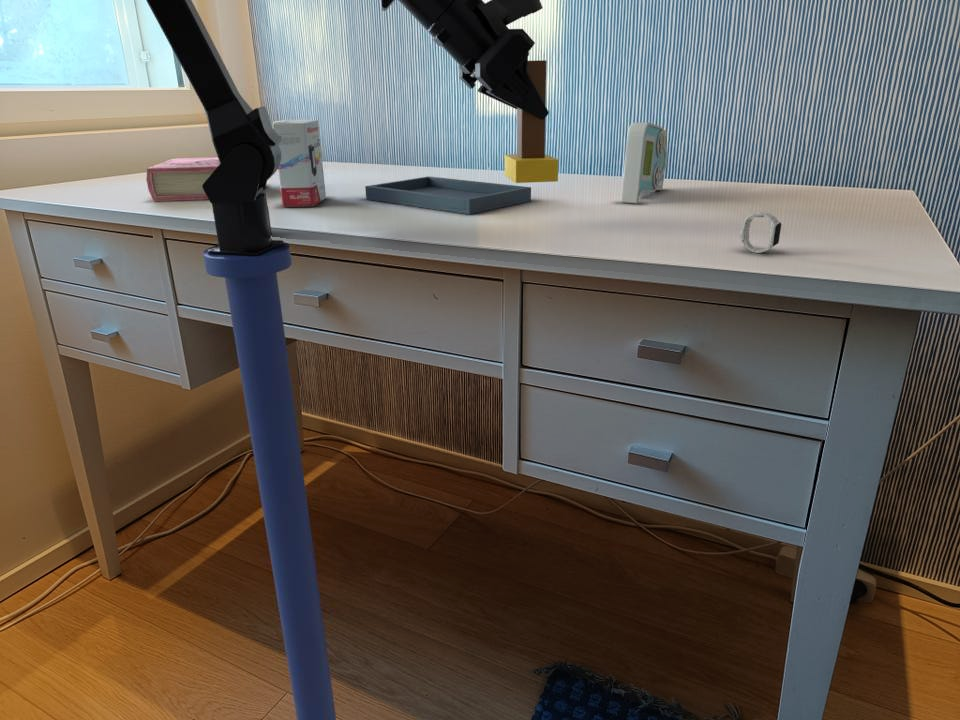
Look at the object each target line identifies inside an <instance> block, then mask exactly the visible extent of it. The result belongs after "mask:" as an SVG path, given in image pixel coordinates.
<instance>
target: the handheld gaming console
mask: <svg viewBox="0 0 960 720" xmlns="http://www.w3.org/2000/svg"><path fill="white" fill-rule="evenodd" d="M667 136H668V131H667V130H665V129H663V127H662V126H661V125H658V124H656V123H655V124H654V123H652V122H638V121H637V122H636V121H635V122H631V123H630V125H629V127H628V130H627V135H626V142H625V143H626V144H625V152H624V153H625V154H624V155H625V156H624V163H623V173H622V181H621V182H622V183H621V192H620V193H621V194H620V202H621V203H622V204H634V205H638V204H639V200H640V197H641V196H640V195H641V194H642V193H655V192H656V191H663V189H664V182H665V181H664V180H665V171H666V170H667V165H668V156H669V154H668V137H667Z"/></svg>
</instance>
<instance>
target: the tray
mask: <svg viewBox="0 0 960 720" xmlns="http://www.w3.org/2000/svg"><path fill="white" fill-rule="evenodd" d="M364 188H365V200H368V201H375V202H382V203H389V204H396V205H403V206H410V207H416V208H423V209H429V210H436V211H443V212H449V213H450V212H451V213H457V214H464V215H473V214H478V213H482V212H488V211H493V210H496V209H501V208H505V207H508V206H514V205H515V206H516V205H519V204H523V203H528V202H531V201H532V186H523V185H515V184H504V183H494V182H486V181H475V180H467V179H456V178H448V177H438V176H428V175H427V176H422V177H416V178H408V179H403V180H396V181H389V182H383V183H377V184H370V185H365V187H364Z"/></svg>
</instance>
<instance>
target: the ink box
mask: <svg viewBox="0 0 960 720" xmlns="http://www.w3.org/2000/svg"><path fill="white" fill-rule="evenodd" d="M271 125H272V127H273V129H274V130H275V132H276V133H277V134H278V135H279V136H280V137H281V138H282V141H281V142H279V143H278V145H279V147H280V150H281V162H280V165H279V168H278V169H277V172H278V181H279V188H280V189H279V190H280V196H281V197H280V198H281V207H283V208H295V207H296V208H300V207H301V208H305V207H315V206H317V205H318V204H319V203H321V202H322V201H324V200H326V198H327V192H326V184H325V183H326V182H325V175H324V165H323V155H322V144H321V136H320V126H319V120H318V119H282V120H277V121H272V123H271Z"/></svg>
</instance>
